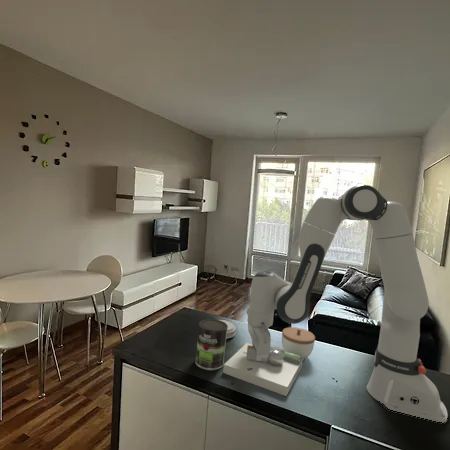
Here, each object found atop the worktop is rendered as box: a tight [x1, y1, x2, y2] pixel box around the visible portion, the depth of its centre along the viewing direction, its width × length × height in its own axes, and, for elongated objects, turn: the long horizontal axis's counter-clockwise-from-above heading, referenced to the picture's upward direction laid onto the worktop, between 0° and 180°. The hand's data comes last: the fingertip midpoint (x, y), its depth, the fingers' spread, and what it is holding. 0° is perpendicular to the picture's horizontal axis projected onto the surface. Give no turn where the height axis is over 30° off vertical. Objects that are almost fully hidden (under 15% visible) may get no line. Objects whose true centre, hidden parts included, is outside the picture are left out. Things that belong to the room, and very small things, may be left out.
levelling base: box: [222, 342, 303, 397], centre depth 111 cm, size 22×20×5 cm
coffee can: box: [194, 318, 228, 371], centre depth 112 cm, size 10×10×14 cm
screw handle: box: [246, 345, 284, 366], centre depth 112 cm, size 13×6×4 cm, turn 84°
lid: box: [218, 319, 237, 340], centre depth 138 cm, size 13×13×5 cm
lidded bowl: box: [281, 326, 316, 361], centre depth 124 cm, size 13×13×11 cm
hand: (256, 355), depth 111 cm, fingers open, 4 cm apart
